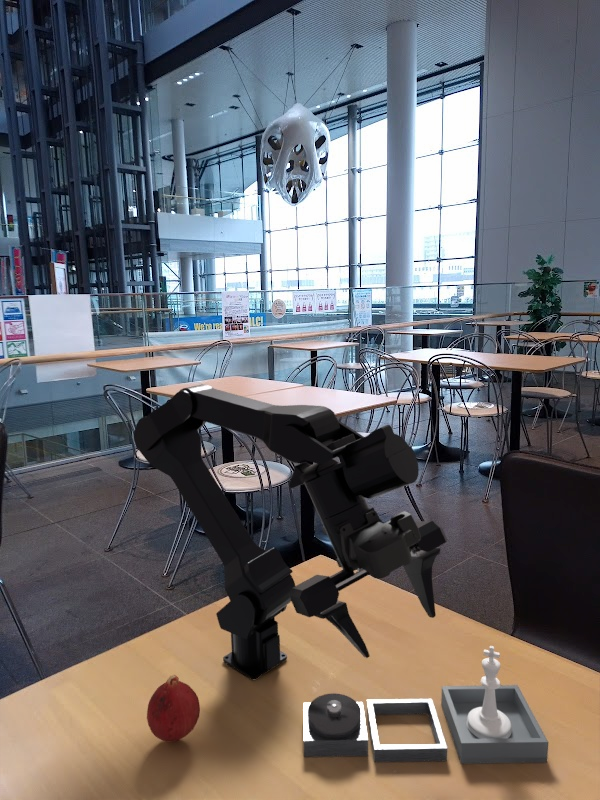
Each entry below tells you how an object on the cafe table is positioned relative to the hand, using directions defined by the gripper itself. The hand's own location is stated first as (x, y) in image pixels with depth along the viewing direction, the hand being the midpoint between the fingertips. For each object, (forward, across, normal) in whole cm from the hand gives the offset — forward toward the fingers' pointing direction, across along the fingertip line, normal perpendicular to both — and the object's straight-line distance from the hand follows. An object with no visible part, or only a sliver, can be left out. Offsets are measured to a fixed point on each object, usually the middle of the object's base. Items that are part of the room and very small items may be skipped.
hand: (400, 636), depth 68 cm
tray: (+14, +5, 0) cm, 15 cm away
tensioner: (+9, -7, +4) cm, 12 cm away
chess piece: (+14, +5, 0) cm, 15 cm away
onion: (0, -26, +10) cm, 28 cm away
